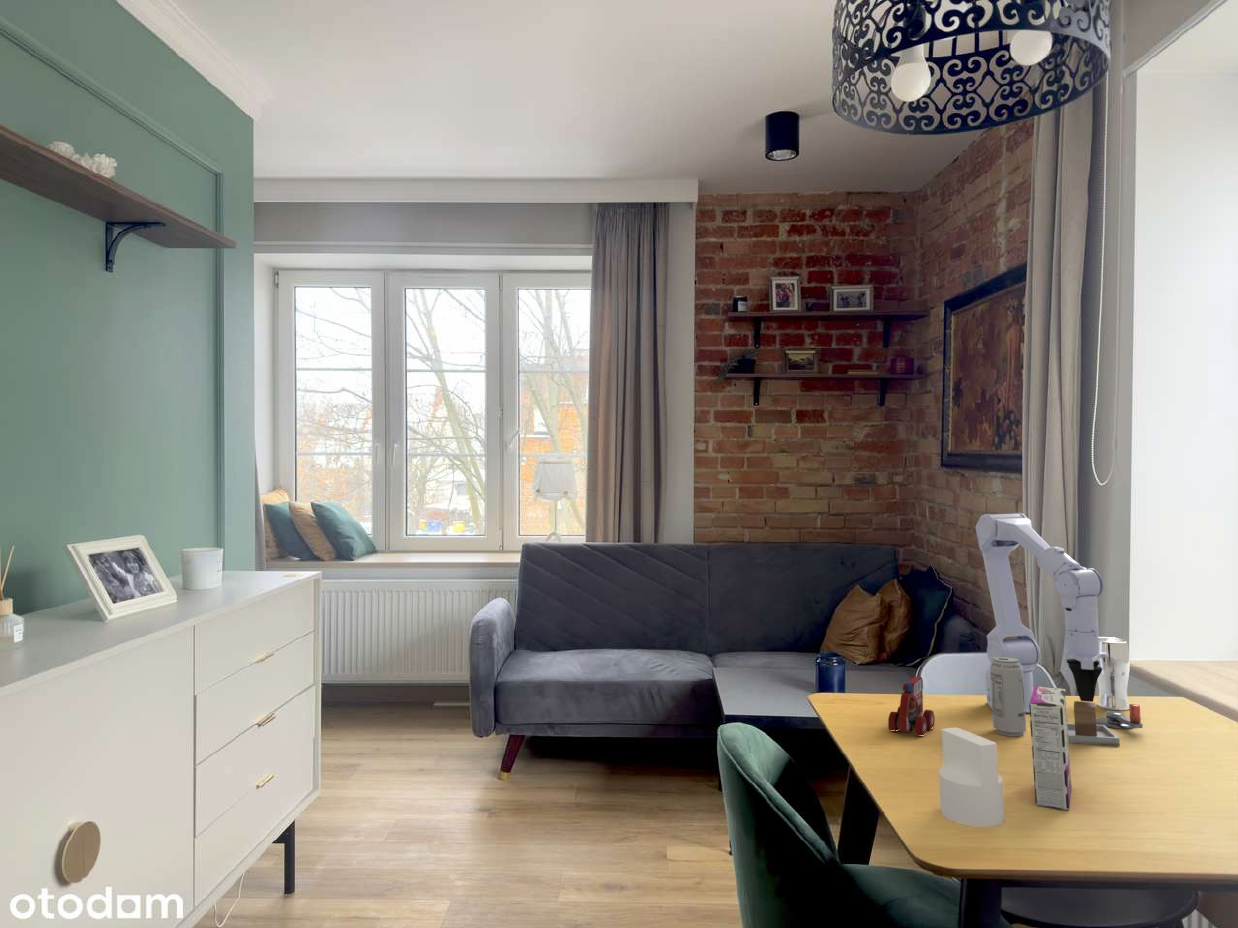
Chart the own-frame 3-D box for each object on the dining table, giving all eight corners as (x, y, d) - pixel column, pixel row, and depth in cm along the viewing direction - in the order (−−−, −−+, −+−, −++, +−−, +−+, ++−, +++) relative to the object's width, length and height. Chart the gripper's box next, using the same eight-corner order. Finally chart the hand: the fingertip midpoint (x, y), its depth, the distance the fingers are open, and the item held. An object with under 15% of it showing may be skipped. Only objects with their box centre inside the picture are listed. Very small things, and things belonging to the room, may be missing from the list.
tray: (1069, 742, 150) (1069, 735, 150) (1057, 729, 159) (1057, 722, 159) (1119, 745, 148) (1119, 738, 148) (1104, 731, 156) (1104, 724, 156)
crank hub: (1101, 727, 159) (1101, 723, 159) (1091, 718, 166) (1090, 714, 166) (1140, 729, 157) (1140, 725, 157) (1128, 719, 164) (1127, 715, 164)
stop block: (1097, 741, 150) (1095, 707, 150) (1075, 738, 152) (1073, 705, 152) (1097, 735, 153) (1095, 702, 153) (1075, 733, 155) (1074, 700, 155)
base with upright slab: (1018, 821, 116) (1014, 741, 117) (968, 830, 113) (965, 748, 114) (974, 799, 125) (971, 724, 125) (928, 807, 122) (924, 731, 123)
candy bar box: (1037, 782, 131) (1032, 685, 132) (1072, 787, 128) (1066, 688, 129) (1033, 805, 122) (1027, 700, 122) (1069, 812, 119) (1064, 704, 120)
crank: (1102, 715, 163) (1101, 695, 163) (1117, 715, 163) (1116, 694, 163) (1131, 728, 154) (1130, 706, 154) (1146, 727, 154) (1145, 706, 154)
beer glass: (1088, 705, 175) (1085, 638, 176) (1108, 701, 178) (1104, 635, 179) (1119, 712, 169) (1115, 643, 170) (1139, 708, 172) (1135, 640, 173)
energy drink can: (1028, 738, 154) (1025, 662, 154) (995, 736, 156) (992, 661, 156) (1023, 729, 160) (1019, 656, 160) (991, 727, 161) (988, 655, 162)
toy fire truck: (885, 735, 158) (882, 684, 159) (904, 720, 168) (902, 672, 168) (919, 741, 154) (917, 689, 154) (937, 726, 164) (935, 676, 164)
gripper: (1110, 637, 146) (1114, 709, 145) (1100, 624, 159) (1104, 691, 158) (1067, 635, 149) (1071, 706, 148) (1061, 623, 162) (1065, 688, 161)
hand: (1085, 698), depth 154 cm, fingers open, 3 cm apart
